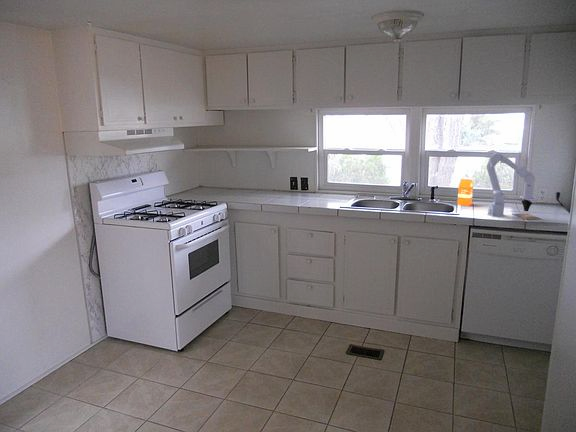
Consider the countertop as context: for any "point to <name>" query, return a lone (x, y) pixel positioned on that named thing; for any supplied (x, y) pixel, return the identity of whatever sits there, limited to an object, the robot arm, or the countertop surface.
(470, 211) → the countertop surface
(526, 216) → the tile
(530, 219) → the mat
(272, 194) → the countertop surface
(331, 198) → the countertop surface
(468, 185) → the orange juice
